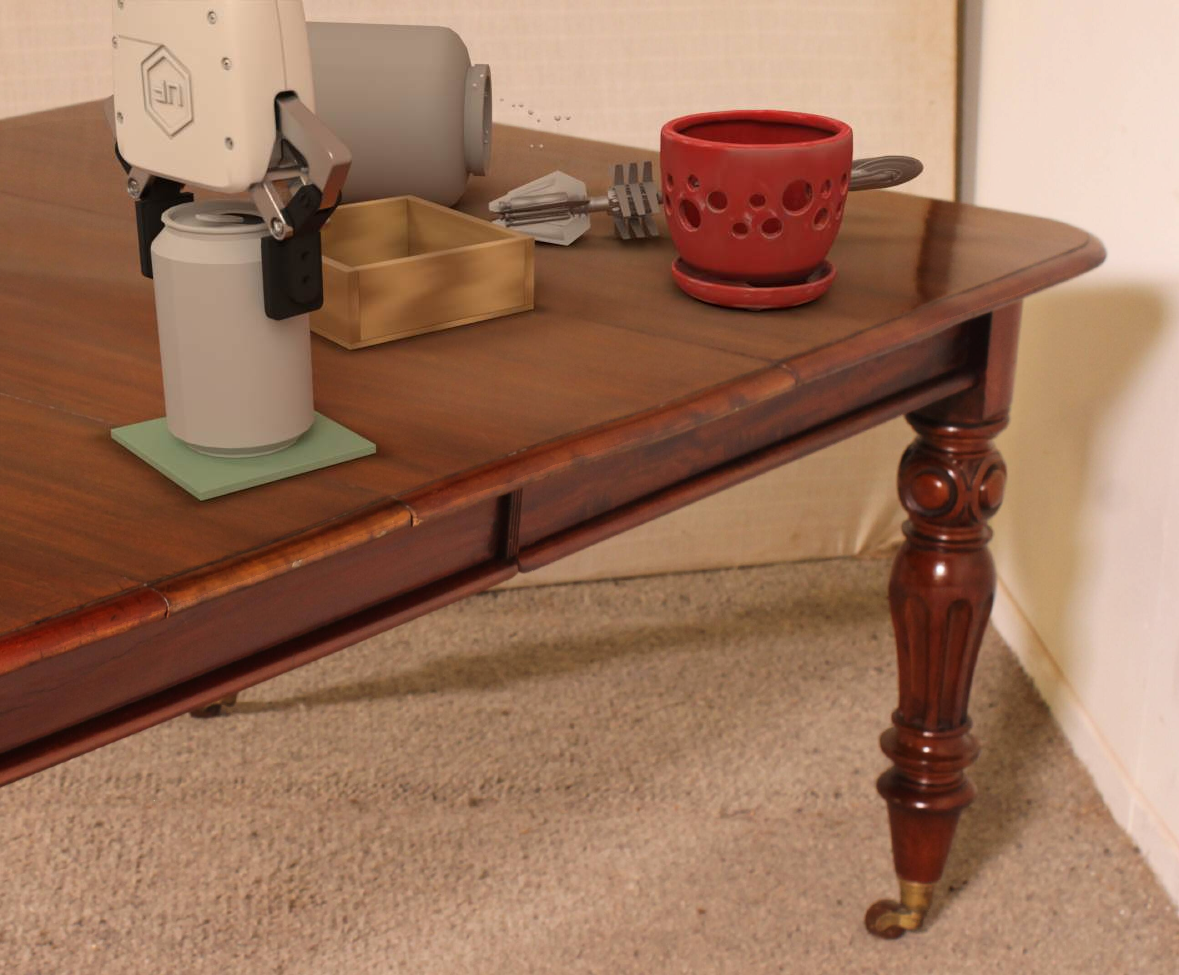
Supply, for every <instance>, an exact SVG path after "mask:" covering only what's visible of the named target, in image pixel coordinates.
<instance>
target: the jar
mask: <svg viewBox="0 0 1179 975" xmlns="http://www.w3.org/2000/svg"><path fill="white" fill-rule="evenodd" d="M306 27H307V33H308V40H309V48H310V55H311V63H312V73H313V84H314V95H315V111H316V117H317V118H318V119H319V120H320V121H321V122H322V123H324V124H325V125H326V126H327V127H328V128H329V129H330V130H331V131H332V132H333V133H334V134H335V135H336V136H337V137H338V138H339V139H340V140H341V141H342V142H343V143H344V144H345V145H346V146H347V147H348V148H349V149H350V151H351V154H352V163H351V166H350V169H349V172H348V175H347V177H346V180H345V183H344V186H343V189H341V192H342V200H341V203H340V204H339V206H341V205H347V204H354V203H360V202H367V201H373V200H380V199H386V198H393V197H399V196H406V195H412V196H415V197H418V198H421V199H424V200H427V201H429V202H432V203H435V204H438V205H441V206H444V207H447V208H451V207H452V206H454V205H456V204H457V203H458V202H459V200H460V199H461V197H462V196H463V195H464V193H465V192H466V190H467V185H468V182H469V178H470V176H471V174H472V176H473V177H488V175H489V170H490V163H491V152H492V139H493V137H492V136H493V135H492V134H493V85H492V84H493V83H492V74H491V67H490V65H489V63H475V64H474V65H472V63H471V58H470V54H469V50H468V46H467V45H466V44H465V42H464V41H463V38H461V36H460V34H458V33H457V32H455V31H454V30H453V29H451V27H447V26H440V25H421V24H420V25H415V24H393V23H392V24H391V23H388V24H386V23H361V22H360V23H359V22H333V21H331V22H330V21H329V22H328V21H306ZM500 101H501V102H504V98H503V97H500ZM518 106H519V107H520V108H524V106H525V105H524V103H523V102H519V104H518ZM511 107H512V108H515V107H516V104H515V103H512V104H511ZM527 113H528V115H531V116H532V115H533V114H534V109H528V111H527ZM561 119H562V117H561V114H558V113H557V114H555V115H554V120H555V121H557V122H559V121H560V120H561ZM565 120H566V121H569V120H571V115H570V114H566V115H565ZM536 121H537V123H540V122H541V119H540V118H537V119H536ZM529 148H531V149H534V145H533V144H530V146H529ZM538 148H539V150H540V149H543V148H544V145H543V144H539V145H538ZM288 189H289V188H287V189H282V190H280V191H281V193H282V194H283V195H284V196H285V197H286V198H287V199H288V200H290V201H291V199H292V198H293V197H292V195H291V194H290V192H289V190H288Z"/></svg>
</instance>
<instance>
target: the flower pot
mask: <svg viewBox="0 0 1179 975" xmlns="http://www.w3.org/2000/svg"><path fill="white" fill-rule="evenodd" d="M659 141H660V142H659V170H660V179H661V181H660V182H661V190H662V198H663V204H662V206H663V211H664V216H665V220H666V224H667V228H668V230H669V234H670V237H671V239H672V242H673V244H674V246H675V248H676V250H677V252H678V254H679V255H678V256H676V257H675V258H674V259H673V261H672V262H671V265H670V272H671V273H670V274H671V277H672V278H673V280H674V282H675V283H676V285H677V286H678V287H679V288H680V289H681V290H682V291H683V292H685V293H686V294H687V295H688V296H690V297H693V298H695V299H696V300H699V301H702V302H703V303H704V302H705V303H708V304H712V305H717V306H722V307H728V308H736V309H746V310H747V311H751V312H759V311H761V310H769V309H770V310H771V309H782V308H791V307H795V306H800V305H803V304H806V303H809V302H811V301H813V300H815V299H817V298H819V297H820V296H822V295H823V294H824V293H825V292H827V291H828V289H829V288H830V287H831V286H832V285H833V283H834V281H835V279H836V277H837V276H836V275H837V269H836V267H835V265H834V264H833V263H832V262H831V261H829V260H828V259H827V258H826V257H827V256H828V254H829V252H830V250H831V249H832V247H833V245H834V243H835V240H836V238H837V236H838V233H839V231H840V228H841V225H842V221H843V217H844V212H845V207H846V202H847V197H848V194H849V191H848V190H849V185H850V179H851V171H852V161H853V159H854V131H853V128H852V127H851V126H850V125H849V124H847V123H846V122H844V121H842V120H840V119H836V118H833V117H830V116H826V115H820V114H815V113H808V112H801V111H800V112H799V111H792V110H779V109H732V110H731V109H730V110H717V111H709V112H708V111H707V112H700V113H693V114H688V115H683V116H680V117H678V118H677V117H676V118H673V119H671V120H669V121H667V122H666V123H664V124H663V125H662V126H661V129H660V140H659ZM697 180H698V182H699V188H698V189H696V188H695V183H696V181H697ZM809 190H810V192H809Z"/></svg>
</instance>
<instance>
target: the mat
mask: <svg viewBox="0 0 1179 975" xmlns="http://www.w3.org/2000/svg"><path fill="white" fill-rule="evenodd" d="M110 436H111V439H113V440H114V441H116V442H117V443H118V444H120V445H121V446H122V447H124V448H125V449H127V450H128V451H130V452H131V453H132V454H134V455H135V456H136V457H138V458H139V459H141V460H142V461H143V462H145V463H146V464H148V465H149V466H151V467H152V468H154V469H155V470H156V471H158V472H159V473H161V474H162V475H163V476H165V477H166V478H168V479H169V480H170V481H172V482H173V483H175V484H176V485H178V486H179V487H181V488H182V490H185V491H187V493H189V494H191V495H192V496H193V497H194V498H196V499H197V500H199V501H201V502H203V501H206V500H211V499H214V498H217V497H221V496H224V495H229V494H232V493H235V492H239V491H243V490H247V489H250V488H254V487H257V486H260V485H261V486H262V485H265V484H268V483H269V484H270V483H272V482H275V481H279V480H282V479H287V478H291V477H293V476H294V477H295V476H298V475H301V474H304V473H309V472H311V471H312V472H313V471H315V470H320V469H322V468H327V467H330V466H334V465H338V464H341V463H344V462H347V461H348V462H350V461H352V460H355V459H356V460H357V459H360V458H363V457H367V456H370V455H374V454H376V453H377V444H376V443H374V442H372V441H370V440H368V439H366V438H365V437H364V436H361V435H359V434H358V433H357V432H354V431H352V430H351V429H349V428H347V427H346V426H343V425H342V424H340V423H338V422H336V421H334V420H332V419H331V418H329V417H327V416H325V415H324V414H322V413H320V412H318V411H316V410H315V409H314V422H313V424H312V425H311V426H310V428H309V429H308V430H307V431H306V432H304V433H303V434H302V435H301V436H300V437H299V439H298V440H297V441H296V442H295V443H294V444H293V445H291V446H289V447H287V448H286V449H283V450H280V451H277V452H274V453H271V454H267V455H261V456H256V457H245V458H225V457H214V456H209V455H205V454H201V453H198V452H196V451H194V450H192V449H190V448H189V447H188V446H187V444H186V443H184V442H183V441H181V440H179V439H178V438H176V437H175V436H173V434H172V433H171V432H170V431H169V429H168V428H167V417H166V416H163V417H159V418H154V419H150V420H146V421H141V422H137V423H133V424H128V425H125V426H124V425H123V426H121V427H115V428H111V429H110Z"/></svg>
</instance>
